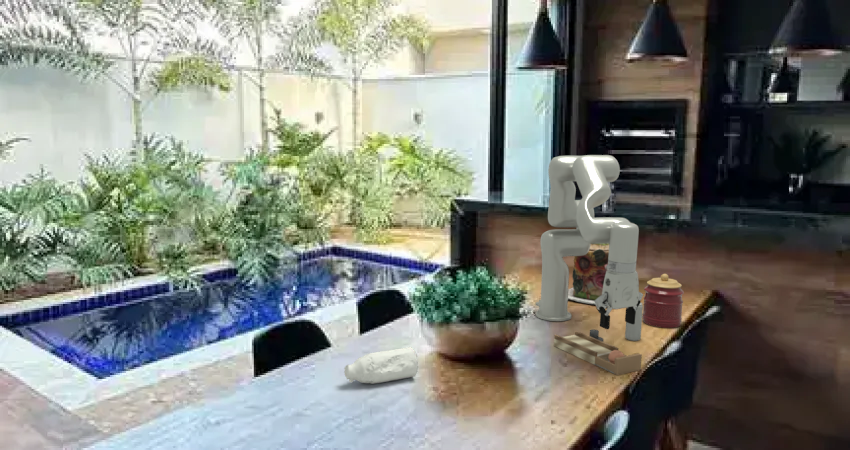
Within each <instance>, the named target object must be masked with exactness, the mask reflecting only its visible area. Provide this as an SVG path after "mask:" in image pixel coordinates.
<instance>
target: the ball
mask: <svg viewBox="0 0 850 450" xmlns="http://www.w3.org/2000/svg"><path fill="white" fill-rule="evenodd" d="M624 355H625V353H623V352H622V351H621V350H619V349H618V350H613V351H611V352H610V354H609V357H608V358H609V361H610V362H611V363H613V364H615V358H618V357H623V356H624Z"/></svg>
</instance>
